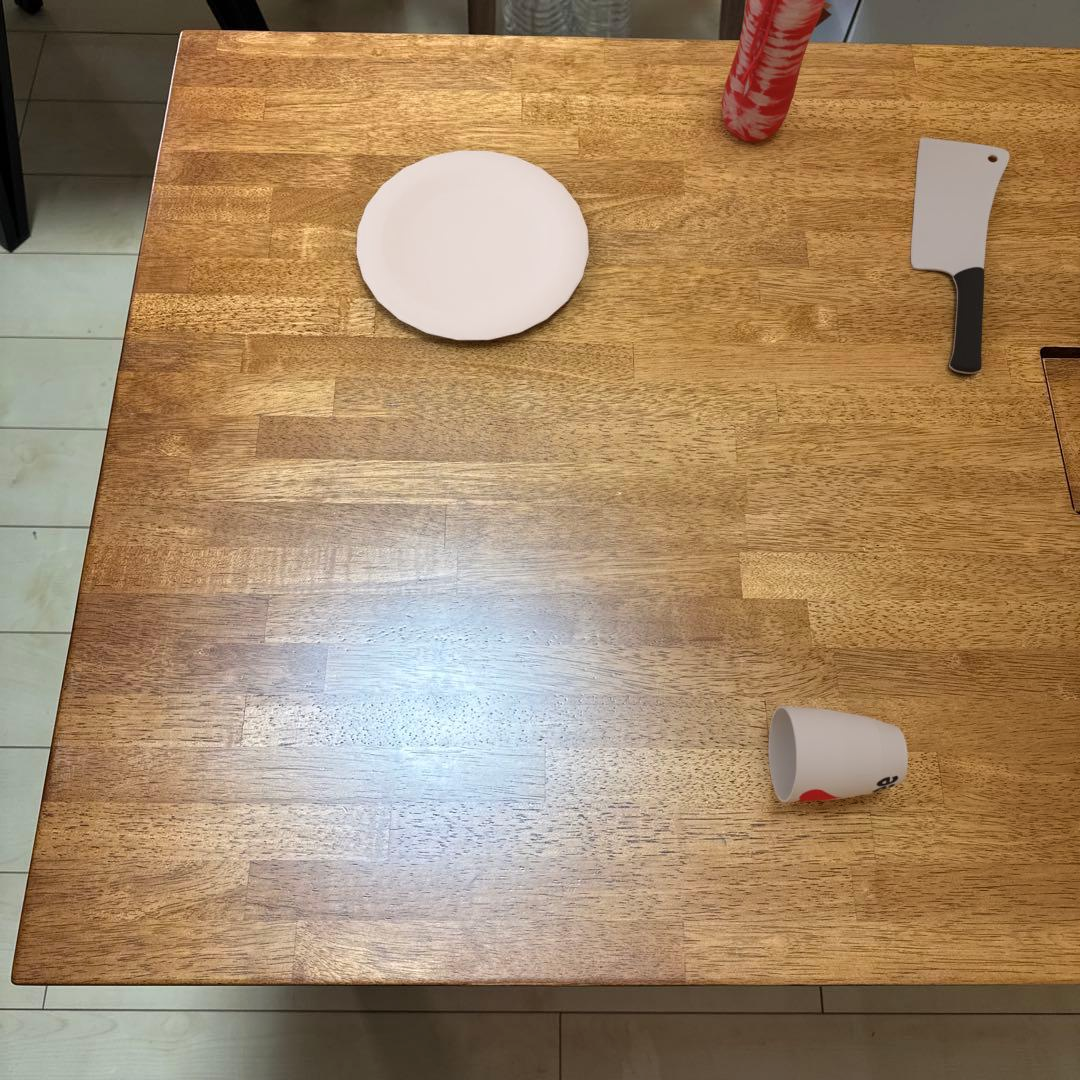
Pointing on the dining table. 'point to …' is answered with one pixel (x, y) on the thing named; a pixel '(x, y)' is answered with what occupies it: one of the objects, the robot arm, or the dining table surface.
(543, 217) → the plate
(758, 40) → the water bottle
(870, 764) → the cup
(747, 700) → the dining table surface
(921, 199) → the kitchen cleaver
